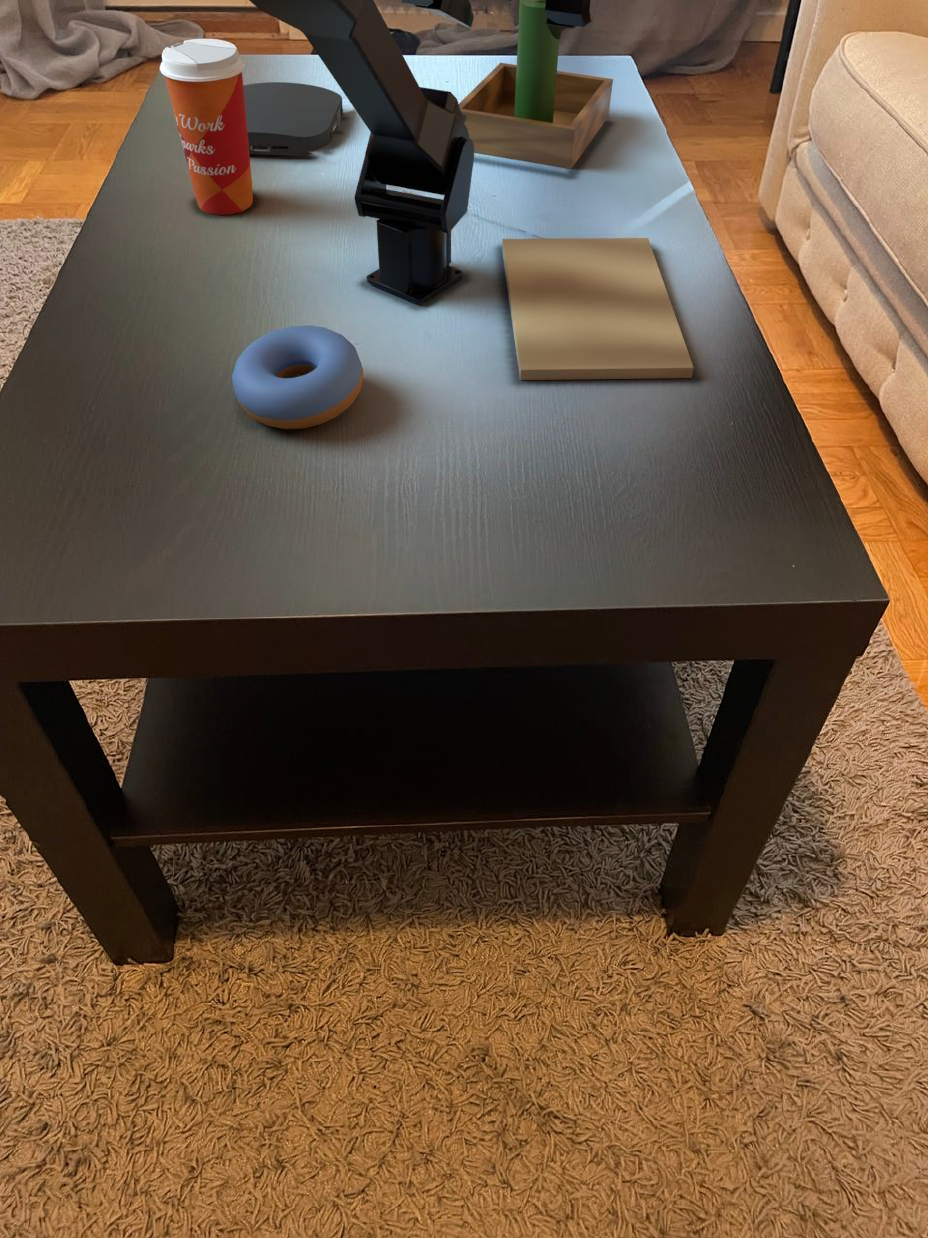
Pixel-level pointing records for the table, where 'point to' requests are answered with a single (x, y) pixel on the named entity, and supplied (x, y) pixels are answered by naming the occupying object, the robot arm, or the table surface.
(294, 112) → the media streaming box
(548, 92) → the cucumber
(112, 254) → the table surface
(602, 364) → the cutting board
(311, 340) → the doughnut
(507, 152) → the wooden box
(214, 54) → the paper cup
